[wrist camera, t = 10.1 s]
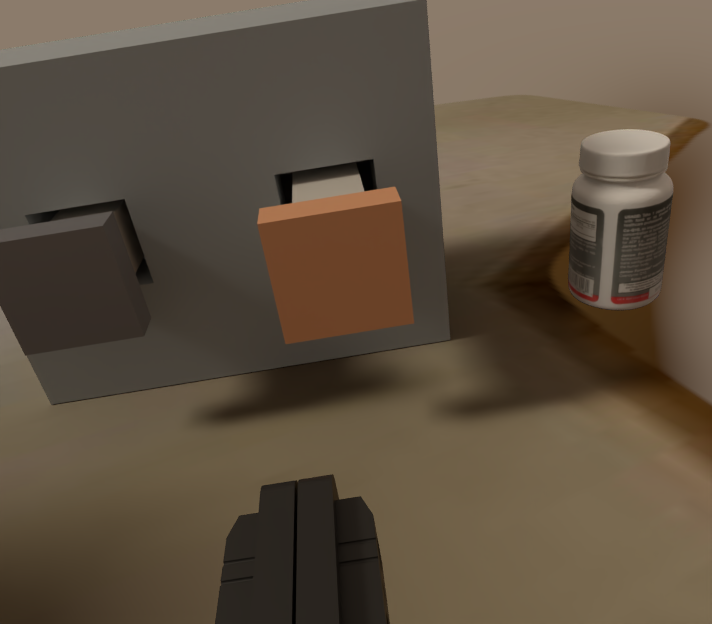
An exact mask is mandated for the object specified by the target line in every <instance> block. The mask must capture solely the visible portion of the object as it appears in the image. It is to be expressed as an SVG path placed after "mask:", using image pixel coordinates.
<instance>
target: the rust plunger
mask: <svg viewBox="0 0 712 624" xmlns="http://www.w3.org/2000/svg"><path fill="white" fill-rule="evenodd" d="M257 226H258V230H259V234H260V238H261V243H262V247H263V251H264V255H265V260H266V264H267V268H268V272H269V276H270V281H271V285H272V289H273V293H274V298H275V302H276V306H277V310H278V314H279V319H280V323H281V327H282V331H283V336H284V340H285V344H291V343H297V342H303V341H309V340H315V339H321V338H328V337H334V336H340V335H346V334H352V333H358V332H365V331H371V330H377V329H383V328H389V327H395V326H402V325H408V324H414V317H413V307H412V298H411V288H410V279H409V269H408V260H407V250H406V241H405V231H404V222H403V212H402V203H401V199H400V197H399V194H398V192H397V189H396V187H389V188H383V189H376V190H370V191H364V188H363V185H362V181H361V178H360V174H359V171H358V167H357V164H356V162H351V163H345V164H338V165H332V166H326V167H320V168H314V169H307V170H301V171H295V172H293V183H292V203H290V204H284V205H277V206H271V207H265V208H259V215H258V222H257Z"/></svg>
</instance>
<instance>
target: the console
mask: <svg viewBox="0 0 712 624" xmlns="http://www.w3.org/2000/svg"><path fill="white" fill-rule="evenodd" d="M351 162H356V164H357V167H358V171H359V174H360V178H361V181H362V185H363V188H364V191H370V190H376V189H383V188H389V187H396V189H397V192H398V194H399V197H400V199H401V203H402V212H403V222H404V231H405V241H406V250H407V260H408V269H409V279H410V288H411V298H412V307H413V317H414V324H408V325H402V326H395V327H389V328H383V329H377V330H371V331H365V332H358V333H352V334H346V335H340V336H334V337H328V338H321V339H315V340H309V341H303V342H297V343H291V344H285V340H284V336H283V331H282V327H281V323H280V319H279V314H278V310H277V306H276V302H275V298H274V293H273V289H272V285H271V281H270V276H269V272H268V268H267V264H266V260H265V255H264V251H263V247H262V243H261V238H260V234H259V230H258V226H257V222H258V215H259V208H265V207H271V206H277V205H284V204H290V203H292V183H293V172H295V171H301V170H307V169H314V168H320V167H326V166H332V165H338V164H345V163H351ZM122 199H125V202H126V205H127V208H128V210H129V213H130V216H131V219H132V222H133V225H134V228H135V231H136V233H137V236H138V239H139V242H140V245H141V248H142V251H143V254H144V257H143V259H142V261H141V263H140V265H139V267H138V269H137V271H136V273H135V274H136V277H137V279H138V282H139V285H140V288H141V291H142V293H143V296H144V299H145V302H146V304H147V307H148V310H149V313H150V315H151V320H150V323H149V325H148V328H147V330H146V333H145V335H144V336H143V337H137V338H131V339H125V340H119V341H112V342H106V343H100V344H94V345H88V346H82V347H75V348H69V349H63V350H57V351H51V352H45V353H38V354H32V355H27V357H28V359H29V361H30V363H31V365H32V367H33V369H34V371H35V373H36V375H37V377H38V379H39V381H40V383H41V385H42V387H43V389H44V391H45V393H46V395H47V397H48V399H49V401H50V403H51V405H52V404H58V403H64V402H70V401H76V400H83V399H89V398H95V397H101V396H107V395H113V394H120V393H126V392H132V391H138V390H144V389H150V388H157V387H163V386H169V385H175V384H181V383H187V382H194V381H200V380H206V379H212V378H218V377H224V376H231V375H237V374H243V373H249V372H255V371H261V370H268V369H274V368H280V367H286V366H292V365H298V364H305V363H311V362H317V361H323V360H329V359H335V358H342V357H348V356H354V355H360V354H366V353H372V352H379V351H385V350H391V349H397V348H403V347H409V346H416V345H422V344H428V343H434V342H440V341H446V340H450V327H449V312H448V298H447V284H446V270H445V256H444V242H443V227H442V213H441V199H440V185H439V171H438V157H437V142H436V128H435V114H434V100H433V86H432V72H431V58H430V44H429V30H428V16H427V1H426V0H308V1H302V2H295V3H289V4H283V5H277V6H271V7H265V8H258V9H252V10H246V11H239V12H233V13H227V14H221V15H215V16H208V17H202V18H196V19H190V20H183V21H177V22H171V23H165V24H159V25H153V26H147V27H140V28H134V29H128V30H121V31H115V32H109V33H103V34H97V35H91V36H85V37H78V38H72V39H65V40H60V41H54V42H47V43H41V44H34V45H28V46H22V47H16V48H9V49H3V50H0V229H6V228H12V227H19V226H25V225H31V224H37V223H43V222H50V220H51V219H52V218H53V217H54V216H55V215H56V214H57V213H58V212H59V211H60V210H61V209H66V208H72V207H78V206H85V205H91V204H97V203H103V202H109V201H115V200H122Z"/></svg>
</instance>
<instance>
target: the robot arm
mask: <svg viewBox="0 0 712 624" xmlns="http://www.w3.org/2000/svg"><path fill="white" fill-rule="evenodd" d="M223 562H224V566H223V569H222V576H221V586H220V591H219V598H218V606H217V613H216V620H215V624H390V622H389V614H388V607H387V598H386V590H385V582H384V574H383V566H382V560H381V554H380V549H379V544H378V538H377V533H376V528H375V522H374V517H373V514H372V512H371V511H370V509H369V508H368V507H367V505H366V504H365V502H364V501H363V499H362V498H361V496H360V497H353V498H347V499H341V500H339V497H338V492H337V488H336V483H335V479H334V476H333V474H332V475H326V476H320V477H313V478H307V479H301V480H299V481H298V482H297V480H296V481H289V482H283V483H277V484H270V485H264V486H262V487H261V491H260V502H259V513H253V514H247V515H241V516H239V517H238V519H237V521H236V523H235V524H234V526H233V528H232V530H231V531H230V533H229V535H228V536H227V539H226V546H225V554H224V561H223Z"/></svg>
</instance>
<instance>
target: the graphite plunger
mask: <svg viewBox="0 0 712 624" xmlns="http://www.w3.org/2000/svg"><path fill="white" fill-rule="evenodd" d="M143 257H144V254H143V251H142V248H141V245H140V242H139V239H138V236H137V233H136V231H135V228H134V225H133V222H132V219H131V216H130V213H129V210H128V208H127V205H126V202H125V199H122V200H115V201H109V202H103V203H97V204H91V205H85V206H78V207H72V208H66V209H61V210H60V211H59V212H58V213H57V214H56V215H55V216H54V217H53V218H52V219H51V220H50V222H43V223H37V224H31V225H25V226H19V227H12V228H6V229H0V306H1V308H2V310H3V312H4V314H5V316H6V318H7V320H8V322H9V324H10V326H11V328H12V330H13V332H14V334H15V336H16V338H17V340H18V342H19V344H20V346H21V348H22V350H23V352H24V354H25V356H26V355H32V354H38V353H45V352H51V351H57V350H63V349H69V348H75V347H82V346H88V345H94V344H100V343H106V342H112V341H119V340H125V339H131V338H137V337H143V336H144V335H145V333H146V330H147V328H148V325H149V323H150V320H151V315H150V313H149V310H148V307H147V304H146V302H145V299H144V296H143V293H142V291H141V288H140V285H139V282H138V279H137V277H136V274H135V273H136V271H137V269H138V267H139V265H140V263H141V261H142V259H143Z"/></svg>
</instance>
